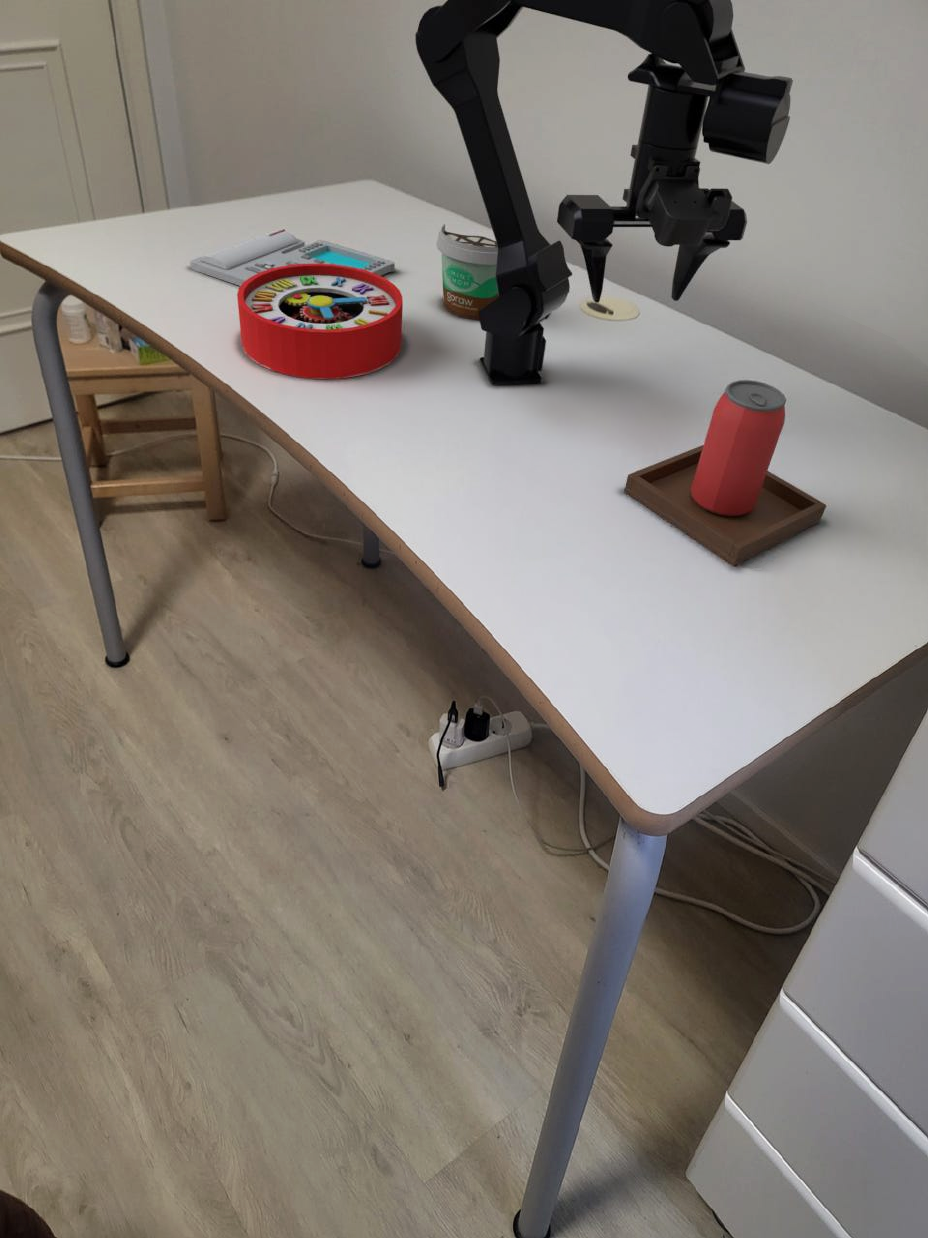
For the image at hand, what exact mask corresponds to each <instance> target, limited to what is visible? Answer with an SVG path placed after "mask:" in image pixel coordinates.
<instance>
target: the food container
mask: <svg viewBox="0 0 928 1238" xmlns="http://www.w3.org/2000/svg"><path fill="white" fill-rule="evenodd" d="M436 239H437V240H436V244H435V245H436V248H437V250H438V251H439V252H440V253H441V274H442V278H441V279H442V299H443V300H442V301H443V304H442V305H443V307H444V309H445V311H447V312H448V313H450V314H451V315H453V316H456V317H458V318H462V319H466V320H472V321H480V320H479V315H478V313H479V311H480V310H482V309H483V308H484V307H486V306H487V305H488V304H490V303H491V302H493V301H494V300H495V299H497V298H498V297H499V295H498V289H497V284H496V278H495V275H496V264H497V252H498V248H497V242H496V240H493V239H492V238H488V237H485V236H483V235H468V234H467V235H465V234H459V233H455V232H450V231H447V230H446V224H445V223H444V224H442V226H441V229H440V230H439V232H438V235H437V238H436Z"/></svg>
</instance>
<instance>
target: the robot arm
mask: <svg viewBox="0 0 928 1238" xmlns="http://www.w3.org/2000/svg"><path fill="white" fill-rule="evenodd" d="M524 8H525V9H530V10H533V11H537V12H541V13H544V14H548V15H553V16H557V17H561V18H565V19H569V20H572V21H576V22H580V23H584V24H587V25H591V26H595V27H599V28H603V29H606V30H612V31H614V32H616V33H619V34H621V35H623V36H624V37H626V38H628V40H630V41H631V42H632V43H634V44H635V45H636V46H637V47H639V48H640V49H642V50H644V51H646V52H648V53H649V54H647V56H646V57H645V59H644V60H643V61H642V62H641V63H640V64H639V65H638V66H637V67H635V68H634V69H633V70H631V71H629V72H628V74H627V80H628V81H629V82H632V83H637V84H642V85H646V86H647V91H646V98H645V102H644V108H643V113H642V117H641V124H640V128H639V129H640V130H639V135H638V139H637V140H638V141H637V144H632V145H631V150H630V157H631V158H632V159H634V162H633V168H632V173H631V179H630V184H629V188H623V194H622V200H623V201H624V202H625V203H626V204H625V205H624V206H623V205H622V206H621V205H620V206H618V205H617V206H611V205H609V204H608V203H607V202H606V201H605V200H604V199H603V198H602V197H601V196H599V195H598V194H566V195H565V196H564V197H563V199H562V200H561V201H560V203H559V204H558V211H557V219H556V223H557V225H559V226H560V228H562V229H563V230H564V232H565V233H566V234H567V235H568V236H569V238H571V240H574V241H576V243H578V244H579V246H580V249H581V252H582V255H583V258H584V262H585V269H586V273H587V277H588V282H589V287H590V292H591V298H592V300H593V301H594V303H600V301H601V298H602V293H603V288H604V280H605V271H606V265H607V264H606V262H607V256H608V254H609V253H610V251H611V249H612V248H613V244H612V242H611V241H610V240H609V239H608V237H610V236H611V235H612V234H613V231H614V228H652V231H653V233H654V234H653V235H654V239H655V242H657V244H659V245H660V246H662V247H667V248H669V247H674V246H678V250H677V254H676V255H677V256H676V260H675V261H676V262H675V267H674V271H673V277H672V283H671V296H670V297H671V299H672V300H673V301H674V302H678V301H679V300H680V299H681V297H682V295H683V294H684V292H685V291H686V289H687V288H688V286H689V285H690V284H691V282H692V280H693V278H695V277H694V276H695V275H696V274H697V272H698V271H699V269H700V268H701V266H702V265H703V263H704V262H705V261H706V259H708V257H709V256H710V255H711V254H713V253H716V251H718V250H720V249H725V248H728V247H729V246H730V244H731V242H730V241H741V240H743V239H744V236H745V232H746V228H747V224H748V217H747V213H746V211H745V208H743V207H741V206H740V205H739V204H737V203H736V202H734V201H733V196H732V194H731V192H730V190H729V188H718V187H717V188H715V187H714V188H710V189H709V188H708V187H707V188H701V187H700V184H699V183H700V182H699V176H700V172H701V168H700V165H701V160H699V159H697V158H696V155H697V150H698V145H699V141H700V137H701V135H702V137H703V141H702V142H703V143H705V144H708V150H709V151H710V152H712V153H716V154H720V155H721V154H722V155H726V156H731V157H735V158H739V159H742V160H743V159H744V160H749V161H752V162H757V163H762V164H766V165H770V164H771V163H772V162H773V161H774V160H775V158H776V156H777V155H778V152H779V151H780V150H781V149H780V148H781V146H782V144H783V141H784V139H785V136H786V133H787V130H788V127H789V124H790V120H791V116H789V114H790V109H791V94H790V93H791V89H792V86H793V82H794V80H793V79H792V77H788V76H783V75H773V76H768V75H762V74H757V73H751V72H746V67H745V64H744V61H743V58H742V55H741V52H740V49H739V46H738V43H737V40H736V38H735V35H734V32H733V28H732V27H733V21H734V9H733V8H734V7H733V3H732V0H446V1H445V2H444V3H443V4H441V5H440V4H439V5H436V6H432V7H430V8H429V9H427V10H426V11H425V12H424V13H423V15H422V16H421V18H420V20H419V22H418V27H417V31H416V32H415V35H414V36H415V37H414V39H415V40H414V41H415V42H414V43H415V47H416V52H417V55H418V57H419V59H420V61H421V64H422V65H423V68H424V69H425V72H426V74H427V76H428V78H429V80H430V82H431V84H432V86H433V87H434V88H435V90H436V91H437V92H438V93H439V94H440V95H441V97H442V98H443V99H444V100H445V101H446V102H447V104H448V105H449V106H450V107H451V108H452V111H453V112H454V114H455V118H456V120H457V123H458V124H457V125H458V126H459V130H460V133H461V136H462V139H463V143H464V146H465V147H466V152H467V156H468V158H469V161H470V165H471V167H472V170H473V173H474V176H475V180H476V183H477V186H478V189H479V192H480V196H481V198H482V202H483V204H484V207H485V211H486V214H487V218H488V220H489V223H490V227H491V230H492V232H493V236H494V239H495V241H496V242H497V248H498V252H497V264H496V275H495V278H496V284H497V289H498V295H499V297H498V298H497V299H495V300H494V301H493V302H491V303H490V304H488V305H487V306H486V307H484V308H483V309H482V310H480V311H479V313H478V315H479V320H478V321H479V324H480V329H481V330H482V331H484V332H485V341H484V343H485V344H484V350H483V351H484V353H483V356H481V357H479V363H480V367H481V368H482V370H483V371H484V374H485V375H486V377H487V380H488V381H489V383H490V384H491V385H511V384H512V385H513V384H515V385H516V384H517V385H518V384H537V383H539V384H540V383H542V382H543V377H542V375H541V373H540V372H542V371H543V367H544V361H545V353H546V345H547V339H546V338H545V336H544V331H545V328H544V327H543V324H541V323H542V322H543V321H547V320H548V319H550V317H551V315H552V313H553V312H554V311H556V310H558V308H561V306H562V305H563V304H564V303H565V302H566V300H567V297H568V295H569V293H570V289H571V287H570V280H569V278H570V277H572V276H573V272H572V271H571V269H570V268H569V266H568V264H567V260H566V257H565V255H566V254H565V249H564V245H563V243H562V241H561V240H557V241H555V242H553V243H550V242H549V241H548V240H547V239H546V237H545V236H544V235H543V234H542V233H541V232H540V229H539V228H538V227H539V226H538V224H537V221H536V218H535V214H534V211H533V208H532V205H531V202H530V198H529V195H528V192H527V189H526V188H527V187H526V184H525V181H524V178H523V175H522V172H521V167H520V164H519V161H518V157H517V155H516V151H515V147H514V145H513V142H512V138H511V134H510V131H509V128H508V124H507V120H506V118H505V117H506V116H505V114H504V111H503V107H502V105H501V101H500V98H499V93H498V88H499V77H500V64H501V58H500V51H499V46H498V45H499V44H498V38H499V37H500V36H501V35H503V33H505V31H507V30H508V29H509V28H510V27H511V26H512V24H513V23H514V21H515V20H516V19H517V17H518V16H519V14H520V13H521V12H522V10H523V9H524ZM665 61H666V62H665ZM667 62H668V63H667ZM669 63H671V64H669ZM675 64H676V65H675ZM677 64H678V65H677Z"/></svg>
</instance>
